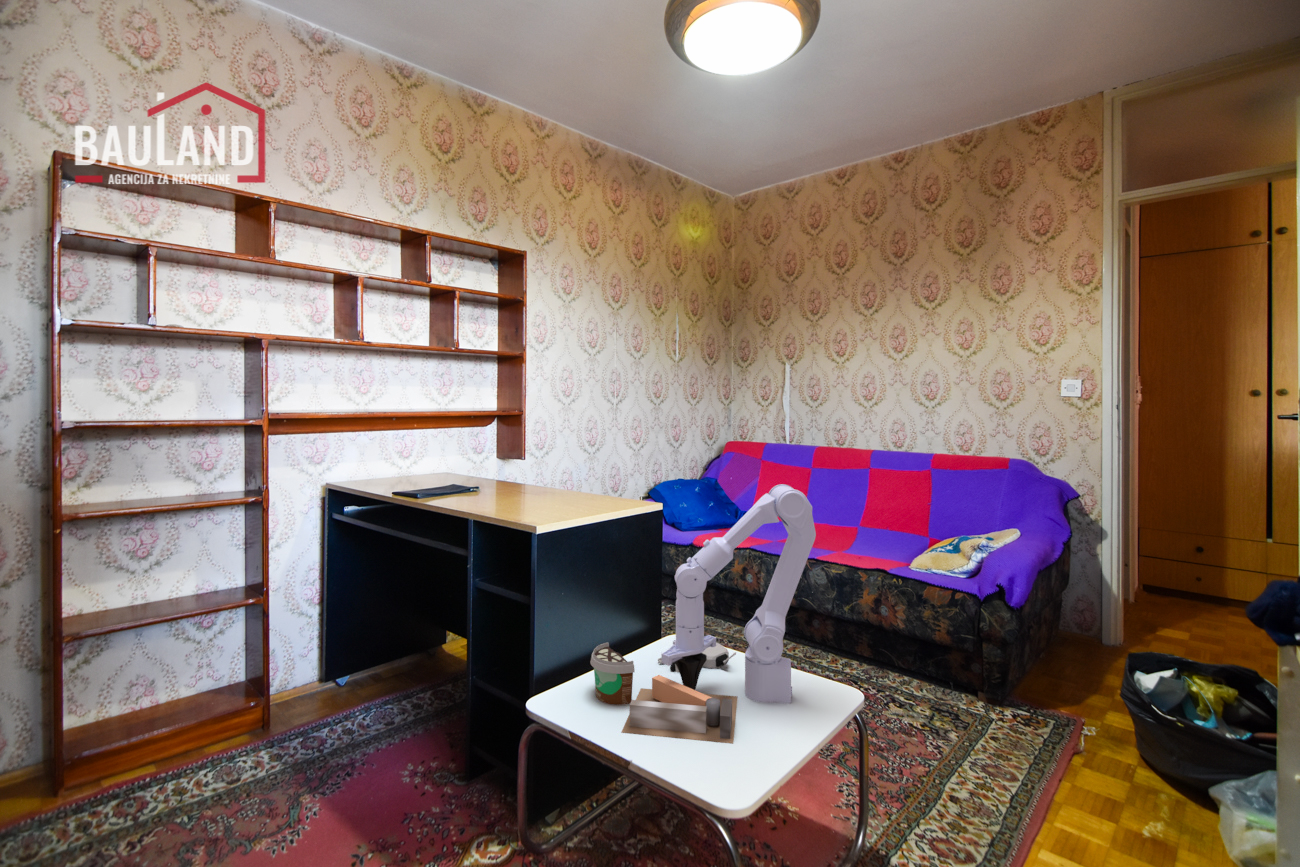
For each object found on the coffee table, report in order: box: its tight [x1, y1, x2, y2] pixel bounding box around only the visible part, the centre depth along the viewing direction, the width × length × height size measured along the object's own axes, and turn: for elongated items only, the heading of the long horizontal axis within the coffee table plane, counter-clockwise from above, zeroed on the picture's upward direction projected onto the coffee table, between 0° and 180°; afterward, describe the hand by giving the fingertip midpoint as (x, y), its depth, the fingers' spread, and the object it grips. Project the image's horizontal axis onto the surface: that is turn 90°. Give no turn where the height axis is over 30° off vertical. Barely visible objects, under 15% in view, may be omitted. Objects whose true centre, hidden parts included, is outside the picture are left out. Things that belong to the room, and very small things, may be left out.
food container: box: [589, 642, 636, 706], centre depth 124 cm, size 12×6×10 cm, turn 29°
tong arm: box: [651, 674, 720, 726], centre depth 118 cm, size 16×3×4 cm, turn 44°
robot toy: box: [657, 642, 737, 673], centre depth 141 cm, size 12×4×15 cm
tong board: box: [620, 688, 739, 745], centre depth 117 cm, size 20×18×5 cm
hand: (689, 689), depth 125 cm, fingers closed
